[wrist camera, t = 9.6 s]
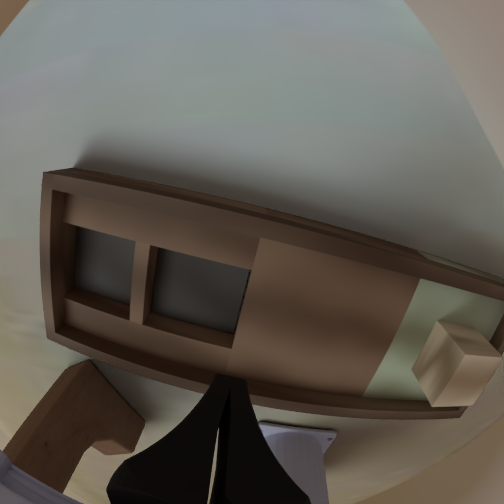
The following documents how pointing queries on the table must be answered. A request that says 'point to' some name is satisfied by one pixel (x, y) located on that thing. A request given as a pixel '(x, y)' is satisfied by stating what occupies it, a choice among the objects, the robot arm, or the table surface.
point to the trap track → (248, 297)
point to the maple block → (455, 365)
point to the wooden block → (73, 426)
